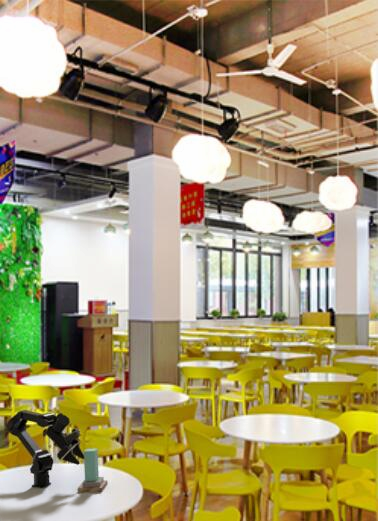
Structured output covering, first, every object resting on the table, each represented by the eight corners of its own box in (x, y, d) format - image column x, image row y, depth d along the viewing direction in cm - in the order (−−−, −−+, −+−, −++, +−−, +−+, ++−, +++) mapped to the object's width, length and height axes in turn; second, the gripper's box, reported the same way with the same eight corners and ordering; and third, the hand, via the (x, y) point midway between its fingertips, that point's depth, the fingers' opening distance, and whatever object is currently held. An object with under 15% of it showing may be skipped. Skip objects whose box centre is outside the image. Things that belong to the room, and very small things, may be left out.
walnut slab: (77, 494, 258) (77, 488, 258) (84, 486, 269) (84, 480, 269) (101, 493, 257) (101, 487, 257) (107, 486, 268) (107, 480, 268)
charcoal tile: (82, 487, 259) (82, 482, 259) (86, 481, 267) (86, 477, 267) (100, 486, 259) (100, 482, 259) (103, 481, 267) (103, 477, 267)
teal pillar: (85, 481, 261) (83, 451, 263) (88, 478, 266) (86, 449, 268) (95, 480, 261) (94, 450, 262) (98, 477, 266) (97, 448, 267)
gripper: (63, 428, 257) (88, 453, 255) (75, 419, 275) (98, 443, 274) (46, 446, 257) (71, 472, 255) (59, 437, 276) (82, 460, 274)
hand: (81, 461), depth 265 cm, fingers open, 9 cm apart
